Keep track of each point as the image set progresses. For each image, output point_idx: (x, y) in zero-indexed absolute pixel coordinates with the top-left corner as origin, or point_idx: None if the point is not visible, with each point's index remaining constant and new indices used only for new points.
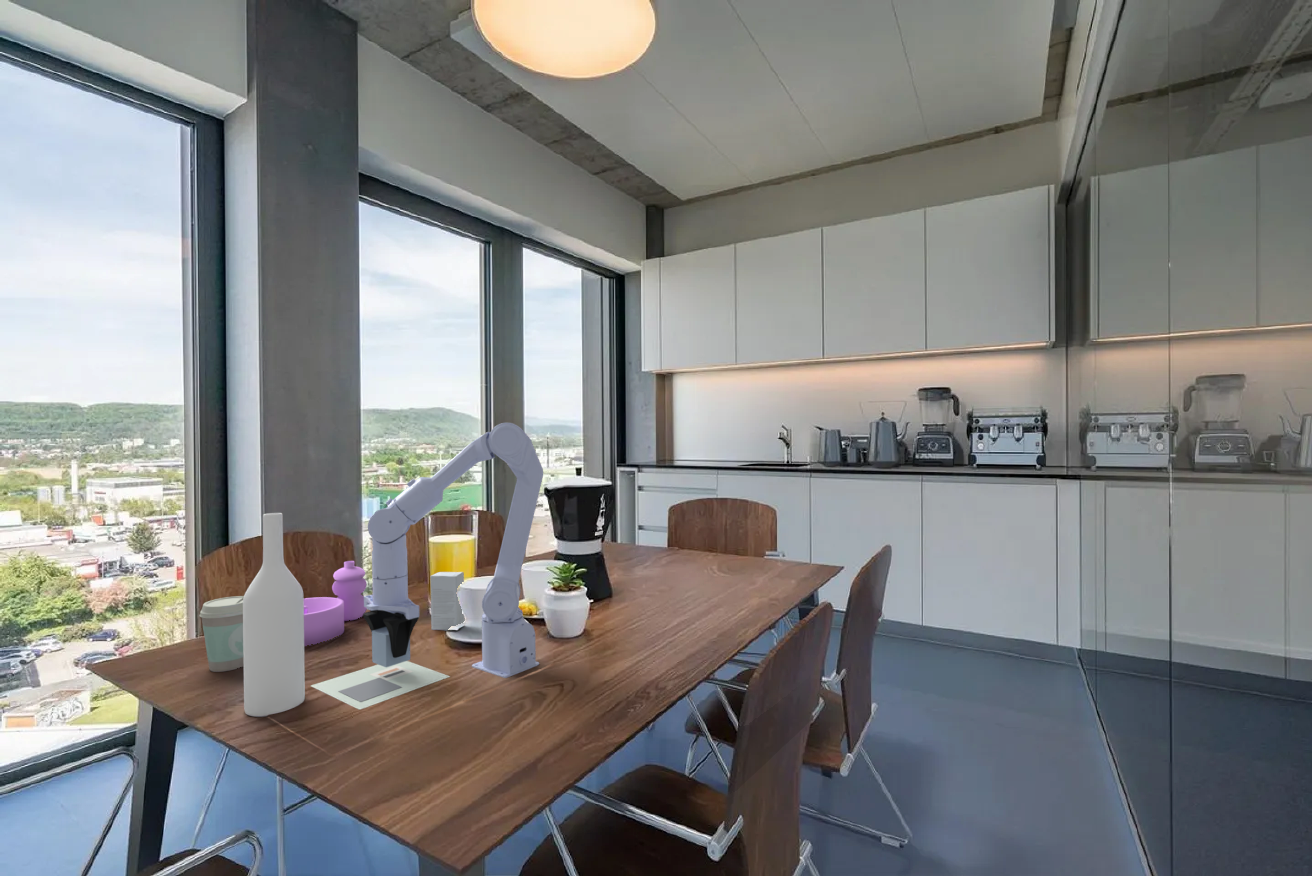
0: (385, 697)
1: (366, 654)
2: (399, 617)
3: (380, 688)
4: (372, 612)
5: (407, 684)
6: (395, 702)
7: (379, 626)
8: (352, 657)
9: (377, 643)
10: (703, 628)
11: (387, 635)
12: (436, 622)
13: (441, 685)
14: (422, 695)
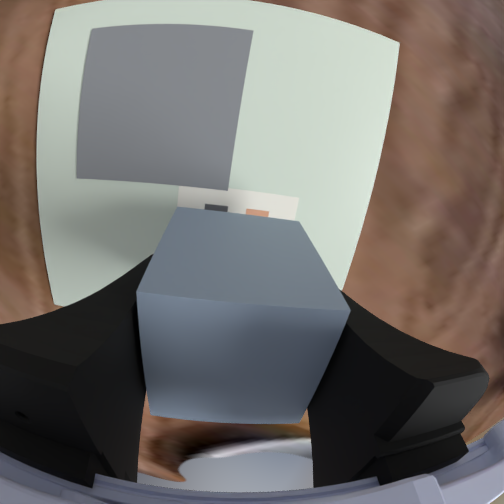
0: (54, 98)
1: (436, 307)
2: (19, 430)
3: (125, 125)
4: (435, 426)
5: (85, 204)
6: (23, 109)
7: (341, 369)
8: (456, 276)
9: (262, 262)
10: None
11: (137, 301)
12: None
13: (31, 258)
14: (9, 186)
